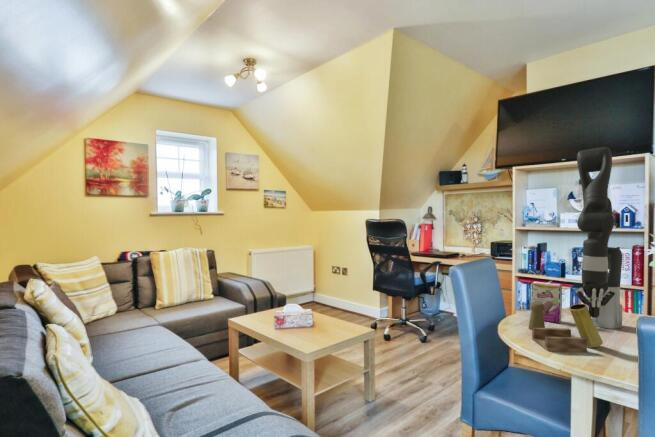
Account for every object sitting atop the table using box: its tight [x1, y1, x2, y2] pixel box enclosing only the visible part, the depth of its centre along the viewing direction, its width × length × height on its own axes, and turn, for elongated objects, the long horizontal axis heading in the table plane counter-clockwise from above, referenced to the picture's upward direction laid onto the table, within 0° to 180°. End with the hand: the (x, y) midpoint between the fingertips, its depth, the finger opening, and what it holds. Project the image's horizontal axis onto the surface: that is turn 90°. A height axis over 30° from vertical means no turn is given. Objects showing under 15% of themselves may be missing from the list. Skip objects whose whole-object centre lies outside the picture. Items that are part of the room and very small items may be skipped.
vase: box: [569, 302, 604, 348], centre depth 130 cm, size 6×6×14 cm
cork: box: [528, 302, 546, 331], centre depth 148 cm, size 6×6×11 cm
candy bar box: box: [530, 281, 563, 324], centre depth 160 cm, size 11×5×16 cm, turn 49°
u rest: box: [531, 327, 588, 353], centre depth 131 cm, size 13×11×4 cm
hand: (593, 317), depth 129 cm, fingers closed
